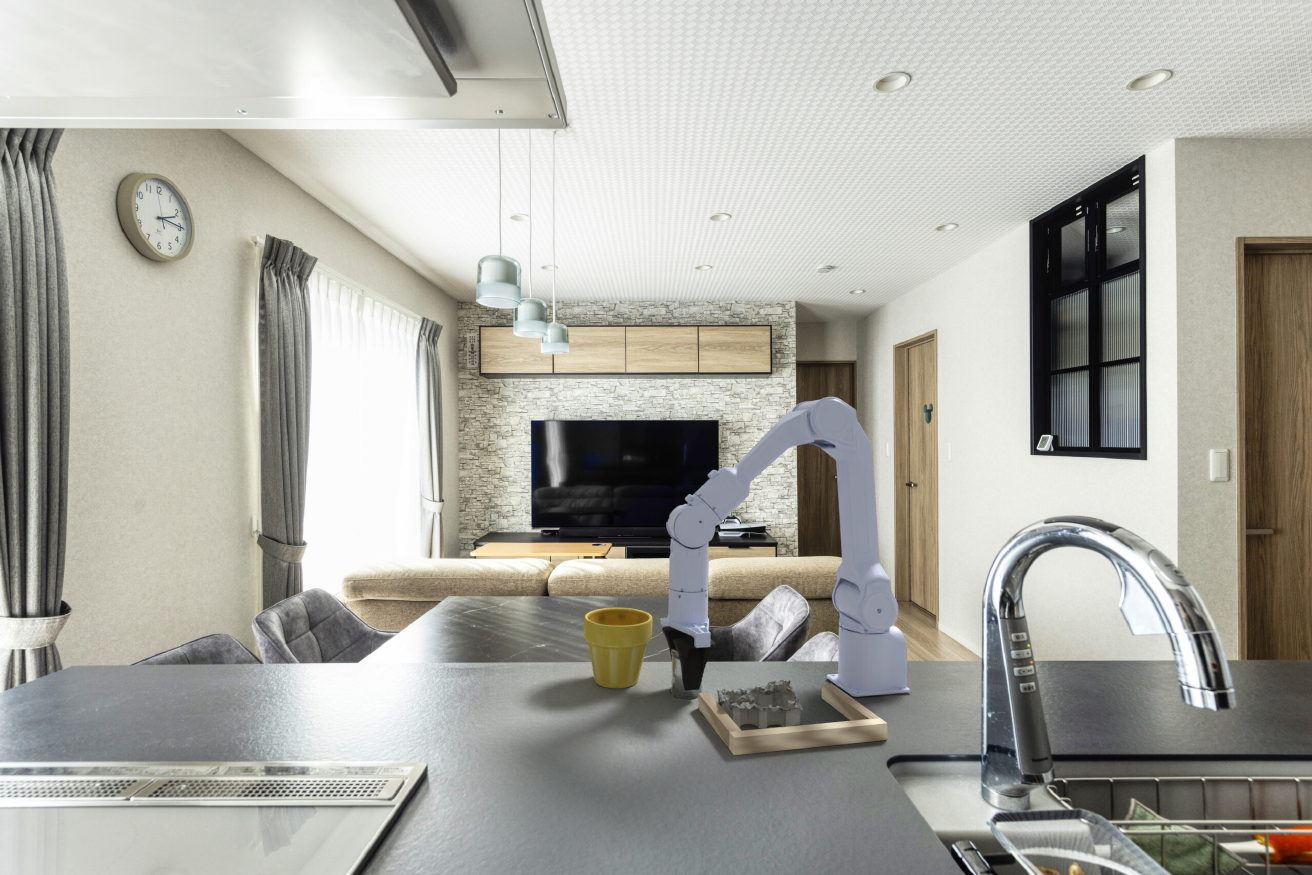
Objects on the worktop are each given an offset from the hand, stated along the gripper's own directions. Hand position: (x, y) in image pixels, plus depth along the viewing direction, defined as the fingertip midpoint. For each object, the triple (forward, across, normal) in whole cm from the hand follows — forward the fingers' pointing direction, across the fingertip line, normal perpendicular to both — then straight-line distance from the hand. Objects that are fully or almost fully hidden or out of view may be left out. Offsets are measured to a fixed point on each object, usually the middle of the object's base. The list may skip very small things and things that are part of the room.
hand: (686, 682), depth 91 cm
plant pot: (+2, -6, -9) cm, 11 cm away
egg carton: (+2, +10, +7) cm, 12 cm away
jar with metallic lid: (+1, 0, 0) cm, 1 cm away
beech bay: (+1, +12, +10) cm, 15 cm away
